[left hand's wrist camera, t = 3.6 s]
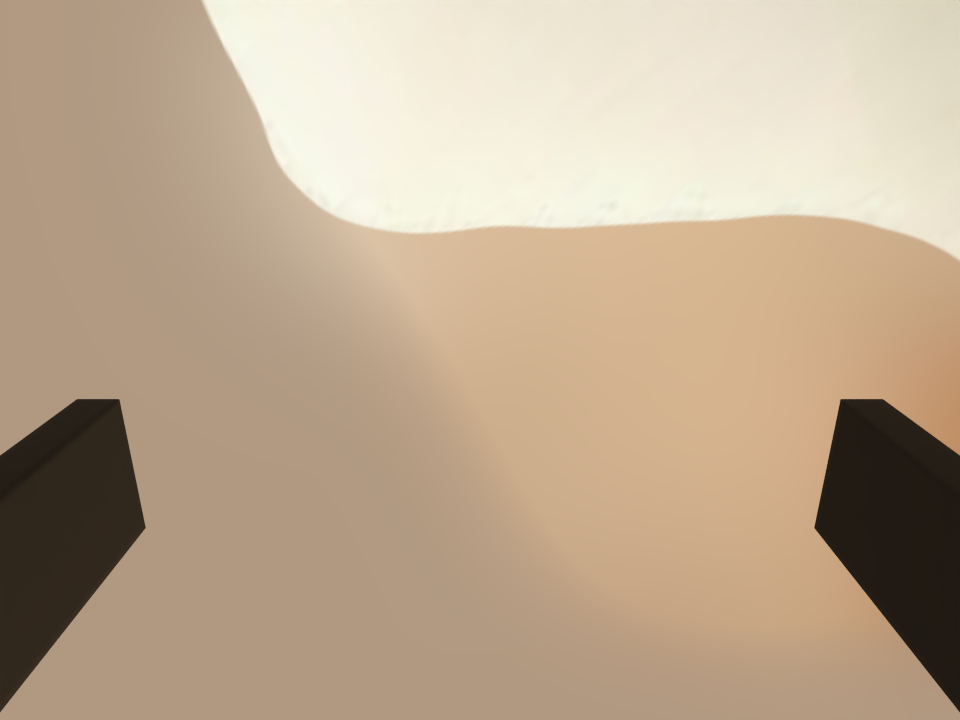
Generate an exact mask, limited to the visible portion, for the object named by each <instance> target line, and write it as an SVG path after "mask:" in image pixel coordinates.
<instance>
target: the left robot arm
mask: <svg viewBox="0 0 960 720" xmlns="http://www.w3.org/2000/svg"><path fill="white" fill-rule="evenodd" d="M144 529H145V523H144V518H143V513H142V508H141V503H140V498H139V493H138V488H137V483H136V479H135V474H134V469H133V464H132V459H131V454H130V449H129V445H128V440H127V435H126V430H125V425H124V420H123V415H122V410H121V405H120V401H119V399H77V400H75V401H74V402H73V403H71V404H70V405H69V406H67V407H66V408H65V409H63V410H62V411H60V412H59V413H58V414H56V415H55V416H54V417H52V418H51V419H50V420H48V421H47V422H45V423H44V424H43V425H41V426H40V427H39V428H37V429H36V430H35V431H33V432H32V433H30V434H29V435H28V436H26V437H25V438H24V439H22V440H21V441H20V442H18V443H17V444H15V445H14V446H13V447H11V448H10V449H9V450H7V451H6V452H5V453H3V454H2V455H0V712H1V710H2V709H3V708H4V707H5V705H6V704H7V703H8V702H9V700H10V699H11V698H12V696H13V695H14V694H15V693H16V691H17V690H18V689H19V688H20V686H21V685H22V684H23V683H24V681H25V680H26V679H27V677H28V676H29V675H30V674H31V672H32V671H33V670H34V669H35V667H36V666H37V665H38V664H39V662H40V661H41V660H42V658H43V657H44V656H45V655H46V653H47V652H48V651H49V650H50V648H51V647H52V646H53V645H54V643H55V642H56V641H57V639H58V638H59V637H60V636H61V634H62V633H63V632H64V631H65V629H66V628H67V627H68V625H69V624H70V623H71V622H72V620H73V619H74V618H75V617H76V615H77V614H78V613H79V612H80V610H81V609H82V608H83V606H84V605H85V604H86V603H87V601H88V600H89V599H90V598H91V596H92V595H93V594H94V593H95V591H96V590H97V589H98V588H99V586H100V585H101V584H102V582H103V581H104V580H105V579H106V577H107V576H108V575H109V574H110V572H111V571H112V570H113V569H114V567H115V566H116V565H117V563H118V562H119V561H120V560H121V558H122V557H123V556H124V555H125V553H126V552H127V551H128V550H129V548H130V547H131V546H132V544H133V543H134V542H135V541H136V539H137V538H138V537H139V536H140V534H141V533H142V532H143V530H144ZM815 529H816V530H817V532H818V533H819V534H820V536H821V537H822V538H823V539H824V541H825V542H826V543H827V544H828V546H829V547H830V548H831V549H832V551H833V552H834V553H835V555H836V556H837V557H838V558H839V560H840V561H841V562H842V563H843V565H844V566H845V567H846V569H847V570H848V571H849V572H850V574H851V575H852V576H853V577H854V579H855V580H856V581H857V582H858V584H859V585H860V586H861V587H862V589H863V590H864V591H865V593H866V594H867V595H868V596H869V598H870V599H871V600H872V601H873V603H874V604H875V605H876V607H877V608H878V609H879V610H880V612H881V613H882V614H883V615H884V617H885V618H886V619H887V620H888V622H889V623H890V624H891V626H892V627H893V628H894V629H895V631H896V632H897V633H898V634H899V636H900V637H901V638H902V639H903V641H904V642H905V643H906V645H907V646H908V647H909V648H910V650H911V651H912V652H913V653H914V655H915V656H916V657H917V658H918V660H919V661H920V662H921V664H922V665H923V666H924V667H925V669H926V670H927V671H928V672H929V674H930V675H931V676H932V677H933V679H934V680H935V681H936V683H937V684H938V685H939V686H940V688H941V689H942V690H943V691H944V693H945V694H946V695H947V697H948V698H949V699H950V700H951V701H952V703H953V704H954V705H955V707H956V708H957V709H958V710H959V712H960V455H958V454H957V453H956V452H954V451H953V450H951V449H950V448H949V447H947V446H946V445H945V444H943V443H942V442H940V441H939V440H938V439H936V438H935V437H934V436H932V435H931V434H929V433H928V432H927V431H925V430H924V429H923V428H921V427H920V426H919V425H917V424H916V423H914V422H913V421H912V420H910V419H909V418H908V417H906V416H905V415H904V414H902V413H901V412H900V411H898V410H897V409H895V408H894V407H893V406H891V405H890V404H889V403H887V402H886V401H885V400H883V399H841V400H840V405H839V410H838V415H837V420H836V425H835V430H834V435H833V440H832V444H831V449H830V454H829V459H828V464H827V469H826V474H825V479H824V484H823V488H822V493H821V498H820V503H819V508H818V513H817V518H816V523H815Z"/></svg>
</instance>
